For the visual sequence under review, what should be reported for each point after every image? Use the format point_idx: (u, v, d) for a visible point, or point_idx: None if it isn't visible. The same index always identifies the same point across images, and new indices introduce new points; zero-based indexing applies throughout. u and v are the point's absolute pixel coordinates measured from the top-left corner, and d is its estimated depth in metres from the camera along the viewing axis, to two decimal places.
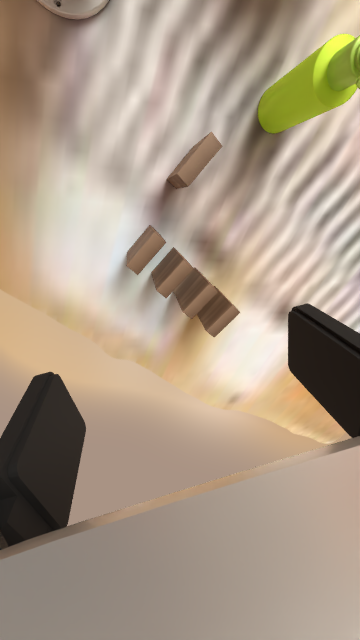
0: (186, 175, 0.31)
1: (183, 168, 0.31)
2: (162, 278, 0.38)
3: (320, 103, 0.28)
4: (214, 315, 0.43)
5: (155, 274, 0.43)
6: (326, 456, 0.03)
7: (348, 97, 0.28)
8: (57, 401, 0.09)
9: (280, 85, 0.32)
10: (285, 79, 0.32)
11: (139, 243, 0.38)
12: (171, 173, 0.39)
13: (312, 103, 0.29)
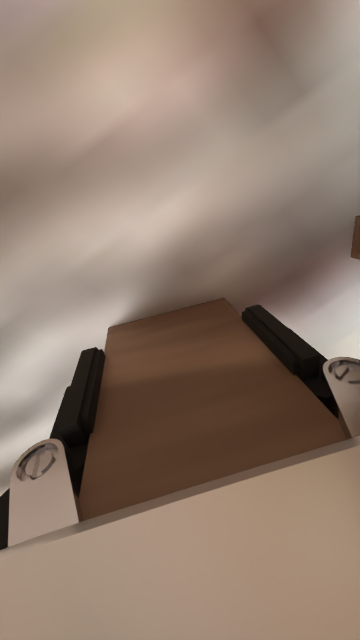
0: None
1: None
2: None
3: None
4: None
5: None
6: (326, 456, 0.03)
7: None
8: None
9: None
10: None
11: None
12: None
13: None
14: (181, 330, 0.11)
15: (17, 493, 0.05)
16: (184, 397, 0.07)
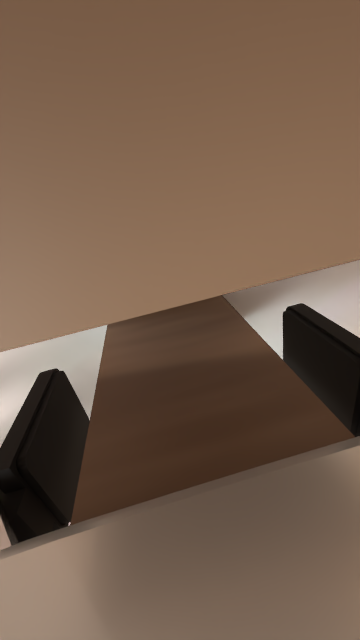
0: None
1: None
2: None
3: None
4: None
5: None
6: (326, 457, 0.03)
7: None
8: (63, 397, 0.09)
9: None
10: None
11: None
12: None
13: None
14: (178, 325, 0.11)
15: None
16: (181, 386, 0.08)
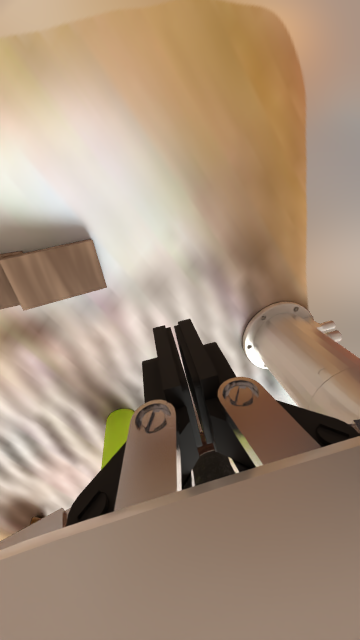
0: None
1: (3, 268, 0.28)
2: None
3: None
4: None
5: None
6: (326, 456, 0.03)
7: None
8: None
9: None
10: None
11: None
12: (91, 249, 0.30)
13: None
14: None
15: (146, 442, 0.06)
16: None
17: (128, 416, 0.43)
